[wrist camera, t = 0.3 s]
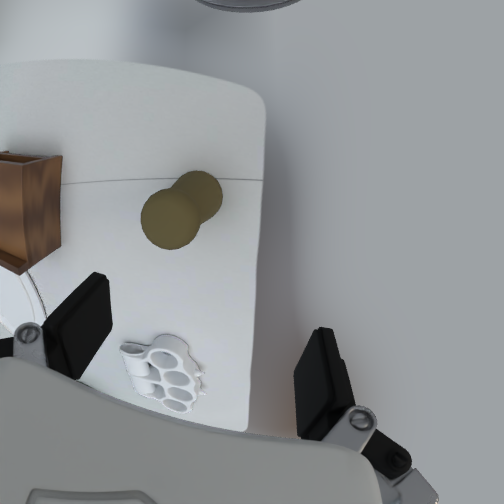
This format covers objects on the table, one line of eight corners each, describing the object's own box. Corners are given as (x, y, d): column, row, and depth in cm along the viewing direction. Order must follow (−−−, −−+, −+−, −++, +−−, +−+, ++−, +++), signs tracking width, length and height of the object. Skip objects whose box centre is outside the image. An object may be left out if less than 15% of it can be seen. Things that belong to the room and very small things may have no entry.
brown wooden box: (5, 150, 28) (-38, 162, 19) (62, 156, 29) (10, 168, 20) (6, 226, 34) (-31, 247, 24) (61, 246, 34) (19, 276, 25)
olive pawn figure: (214, 227, 32) (189, 270, 22) (167, 212, 32) (125, 246, 22) (229, 179, 30) (209, 201, 20) (180, 164, 29) (137, 178, 19)
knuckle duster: (119, 325, 40) (205, 339, 39) (141, 391, 47) (210, 404, 46) (111, 338, 36) (201, 354, 36) (136, 403, 44) (208, 418, 43)
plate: (-14, 206, 32) (-16, 207, 32) (63, 313, 40) (62, 315, 39) (-28, 278, 40) (-29, 279, 40) (34, 357, 48) (33, 359, 47)
